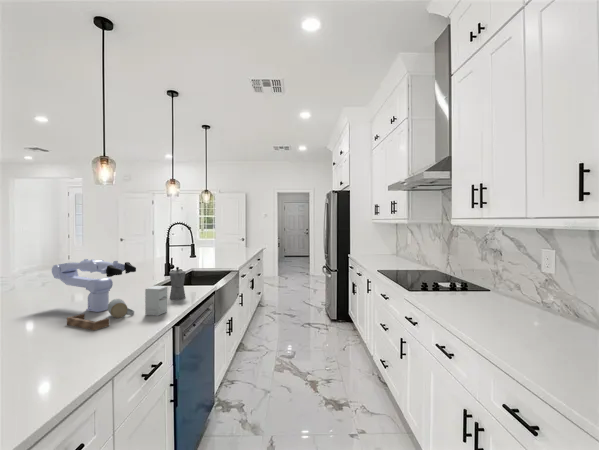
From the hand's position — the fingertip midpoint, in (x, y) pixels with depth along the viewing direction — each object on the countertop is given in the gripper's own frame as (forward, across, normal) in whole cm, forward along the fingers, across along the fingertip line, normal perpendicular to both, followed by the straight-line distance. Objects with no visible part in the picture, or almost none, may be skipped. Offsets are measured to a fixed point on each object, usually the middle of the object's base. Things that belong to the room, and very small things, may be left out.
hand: (128, 271), depth 158 cm
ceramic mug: (0, -4, +21) cm, 21 cm away
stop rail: (0, -20, +20) cm, 28 cm away
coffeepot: (-2, +35, +22) cm, 41 cm away
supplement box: (+13, +5, +20) cm, 25 cm away
